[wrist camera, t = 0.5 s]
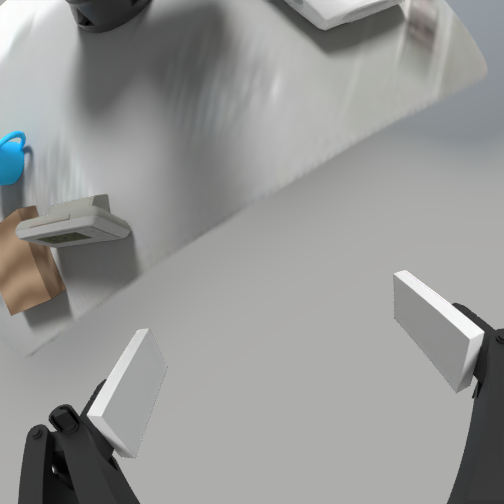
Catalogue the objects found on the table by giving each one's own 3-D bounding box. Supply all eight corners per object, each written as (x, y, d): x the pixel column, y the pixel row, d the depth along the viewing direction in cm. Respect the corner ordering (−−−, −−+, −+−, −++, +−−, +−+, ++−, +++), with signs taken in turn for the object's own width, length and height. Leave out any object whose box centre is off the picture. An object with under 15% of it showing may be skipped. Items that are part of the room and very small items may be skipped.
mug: (8, 193, 38) (-21, 197, 30) (-4, 162, 36) (-32, 163, 28) (41, 150, 37) (11, 148, 29) (28, 119, 35) (-1, 113, 27)
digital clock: (53, 244, 41) (14, 260, 30) (53, 192, 38) (11, 198, 28) (132, 254, 41) (101, 276, 31) (134, 195, 39) (100, 200, 29)
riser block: (-3, 233, 40) (-19, 238, 35) (35, 205, 39) (17, 208, 34) (25, 306, 43) (11, 315, 38) (66, 289, 42) (51, 299, 37)
